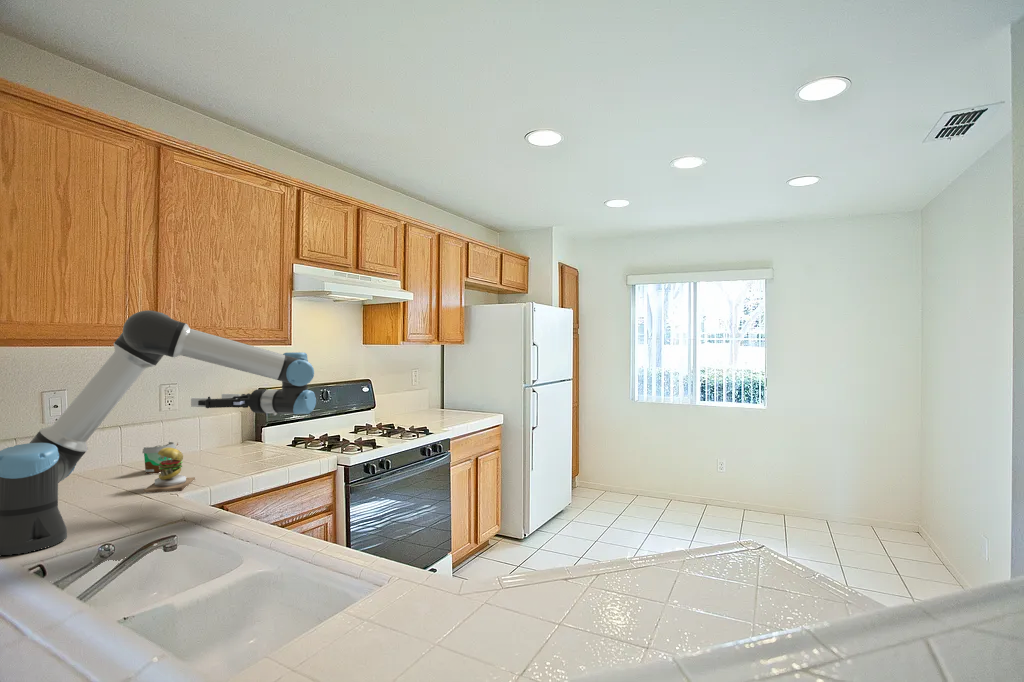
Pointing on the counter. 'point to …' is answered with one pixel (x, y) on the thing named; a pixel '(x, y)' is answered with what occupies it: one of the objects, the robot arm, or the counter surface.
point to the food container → (155, 457)
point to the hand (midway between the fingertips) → (207, 399)
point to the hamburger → (170, 463)
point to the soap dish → (170, 484)
